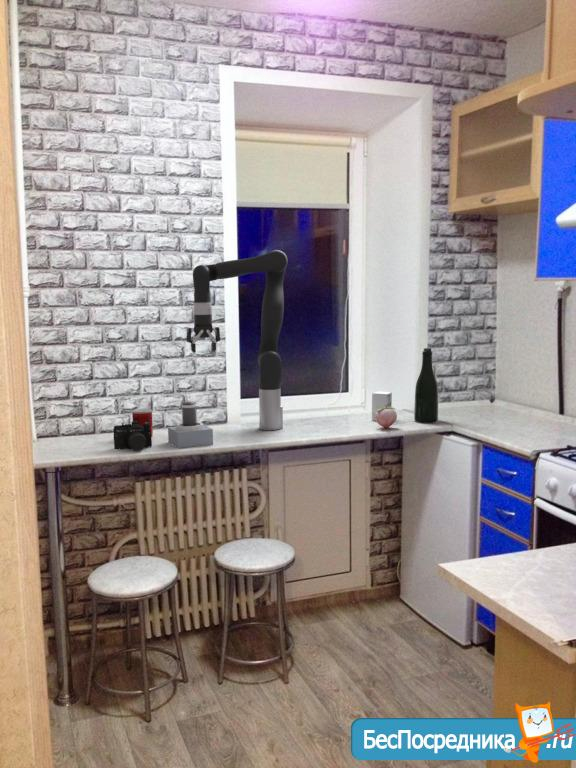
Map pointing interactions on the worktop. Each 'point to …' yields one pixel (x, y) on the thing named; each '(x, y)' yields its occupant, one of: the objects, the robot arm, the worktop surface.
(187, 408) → the lens
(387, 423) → the decorative fruit
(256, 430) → the worktop surface
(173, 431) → the low grey box
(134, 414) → the canned food
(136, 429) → the camera
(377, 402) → the supplement box
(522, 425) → the worktop surface
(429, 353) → the dark green wine bottle
